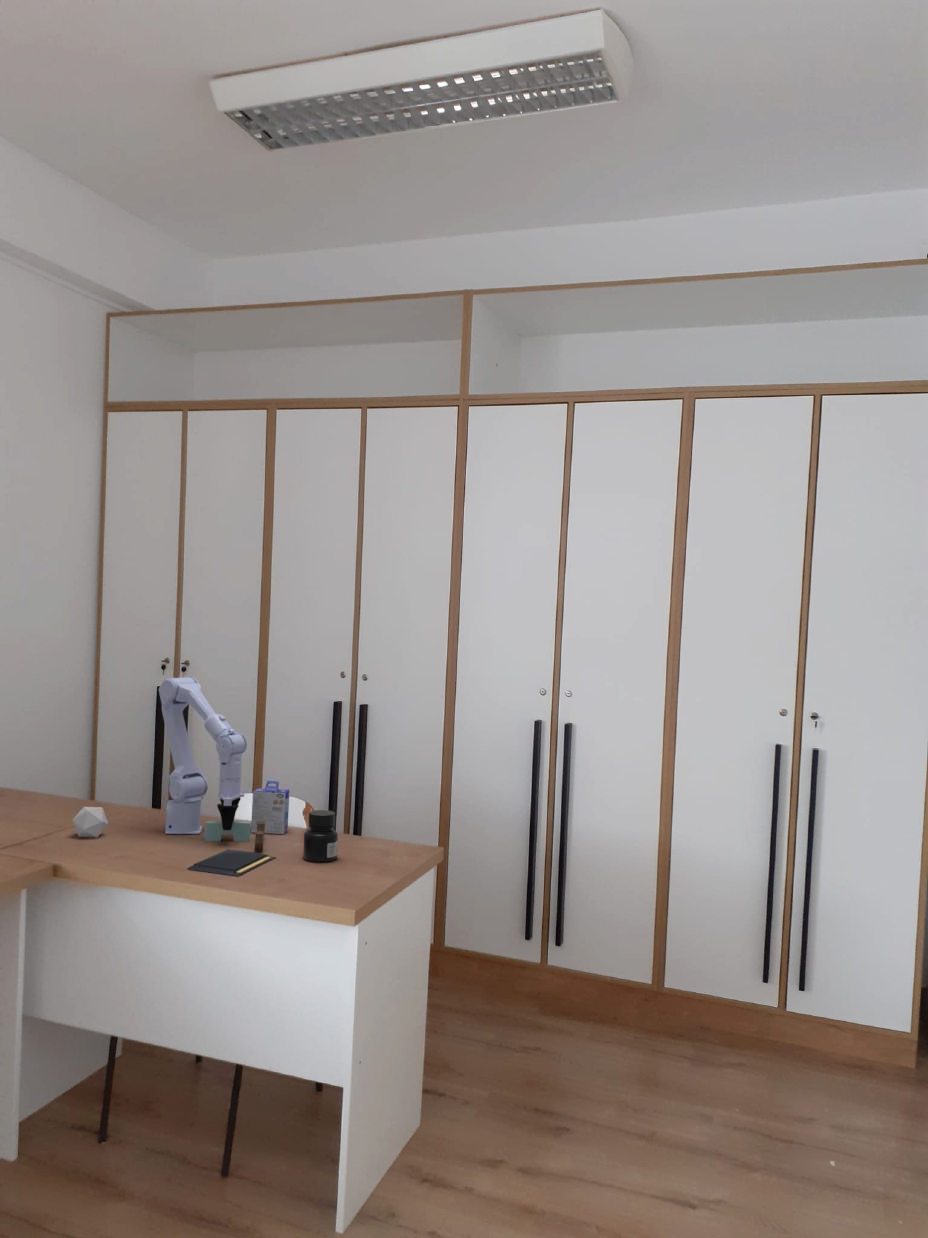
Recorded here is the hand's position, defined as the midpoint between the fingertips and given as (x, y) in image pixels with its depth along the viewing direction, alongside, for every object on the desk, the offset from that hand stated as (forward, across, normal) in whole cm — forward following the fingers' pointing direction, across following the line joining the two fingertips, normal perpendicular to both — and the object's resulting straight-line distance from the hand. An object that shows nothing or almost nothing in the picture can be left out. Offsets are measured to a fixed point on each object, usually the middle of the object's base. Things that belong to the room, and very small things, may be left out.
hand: (228, 826), depth 261 cm
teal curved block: (+4, 0, 0) cm, 4 cm away
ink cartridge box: (+4, +10, -11) cm, 16 cm away
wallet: (+5, -24, -3) cm, 25 cm away
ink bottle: (+4, -19, -25) cm, 32 cm away
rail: (+4, -6, -9) cm, 11 cm away
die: (+4, +4, +37) cm, 38 cm away
